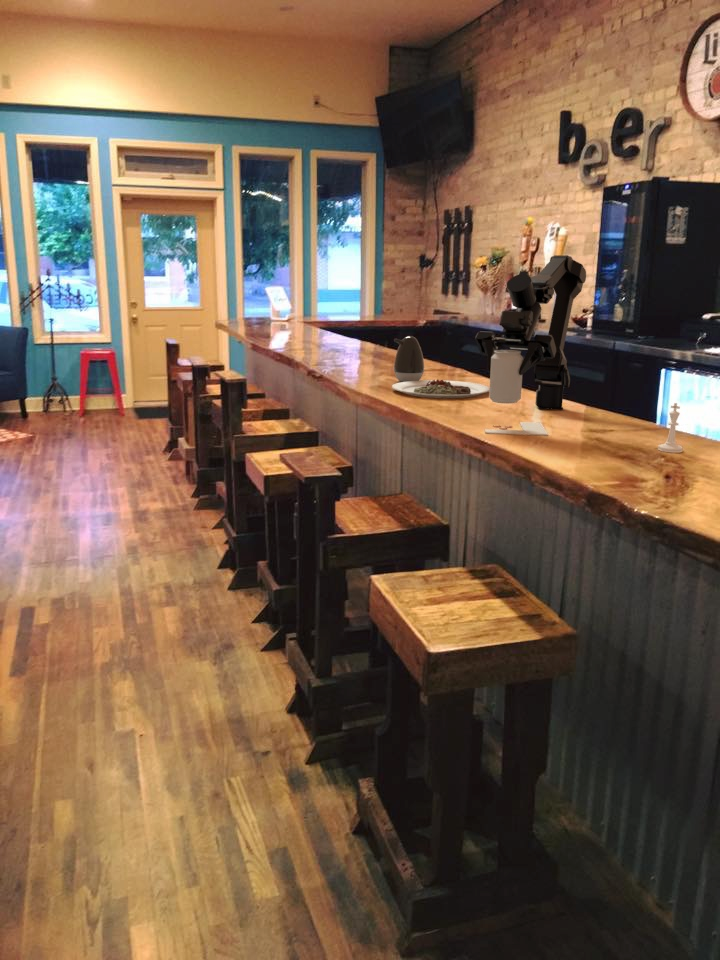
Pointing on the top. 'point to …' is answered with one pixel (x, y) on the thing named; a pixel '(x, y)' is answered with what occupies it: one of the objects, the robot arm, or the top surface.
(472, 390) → the plated food
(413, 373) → the pump dispenser
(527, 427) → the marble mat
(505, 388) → the can
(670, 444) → the chess piece
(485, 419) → the top surface
